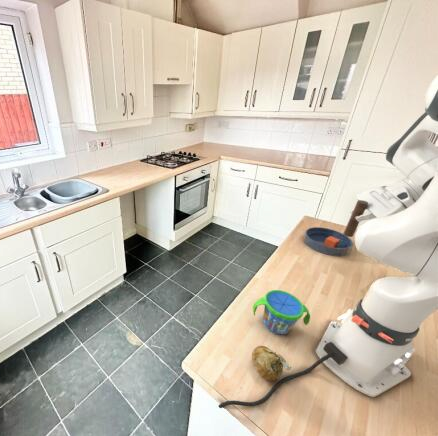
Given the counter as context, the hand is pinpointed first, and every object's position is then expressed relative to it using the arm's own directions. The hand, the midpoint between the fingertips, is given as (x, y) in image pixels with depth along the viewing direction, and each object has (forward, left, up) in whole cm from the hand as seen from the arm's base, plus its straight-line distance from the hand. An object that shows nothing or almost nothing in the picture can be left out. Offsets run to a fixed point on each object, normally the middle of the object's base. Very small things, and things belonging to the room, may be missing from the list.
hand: (353, 216), depth 89 cm
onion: (-60, -12, -24) cm, 66 cm away
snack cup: (-45, -5, -24) cm, 51 cm away
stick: (+1, 0, -8) cm, 8 cm away
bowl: (+14, +10, -24) cm, 29 cm away
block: (+14, +8, -23) cm, 28 cm away
